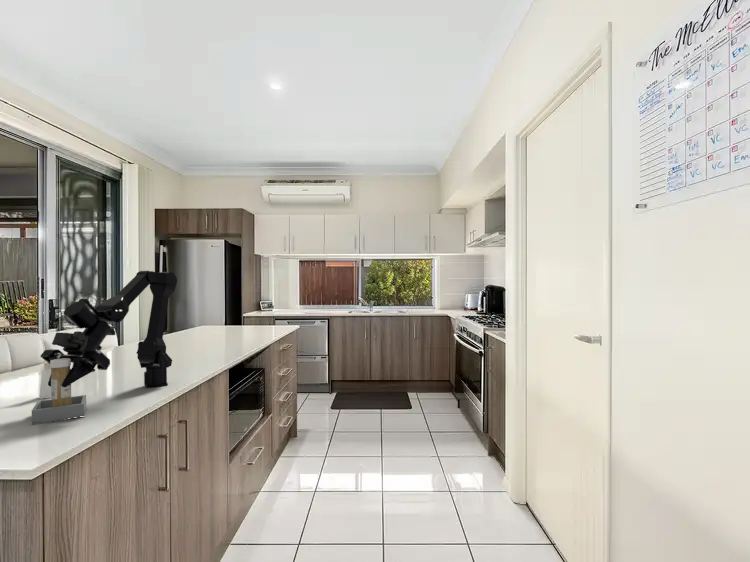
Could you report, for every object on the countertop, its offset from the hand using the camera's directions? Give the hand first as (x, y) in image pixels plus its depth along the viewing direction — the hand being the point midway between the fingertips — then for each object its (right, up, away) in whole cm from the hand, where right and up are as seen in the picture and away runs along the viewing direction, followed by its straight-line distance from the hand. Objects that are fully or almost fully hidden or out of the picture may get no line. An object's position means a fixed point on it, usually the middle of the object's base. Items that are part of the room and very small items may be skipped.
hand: (56, 386), depth 117 cm
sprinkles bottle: (+1, -7, +1) cm, 7 cm away
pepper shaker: (-18, -9, +22) cm, 29 cm away
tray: (0, -8, +1) cm, 8 cm away
